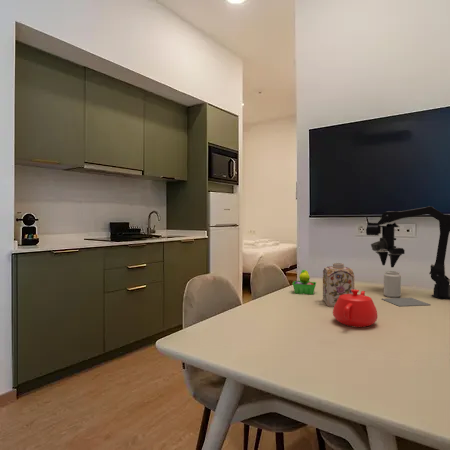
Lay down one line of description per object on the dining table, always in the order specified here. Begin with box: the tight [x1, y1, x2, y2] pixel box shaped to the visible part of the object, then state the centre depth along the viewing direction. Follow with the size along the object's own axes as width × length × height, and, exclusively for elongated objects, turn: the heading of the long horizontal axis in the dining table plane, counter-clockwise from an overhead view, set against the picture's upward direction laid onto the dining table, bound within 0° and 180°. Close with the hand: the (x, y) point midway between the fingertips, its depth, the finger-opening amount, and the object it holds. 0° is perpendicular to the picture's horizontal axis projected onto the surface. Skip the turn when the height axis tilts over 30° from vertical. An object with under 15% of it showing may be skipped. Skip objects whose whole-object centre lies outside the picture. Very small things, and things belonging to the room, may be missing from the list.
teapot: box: [332, 288, 378, 328], centre depth 131 cm, size 25×16×12 cm, turn 145°
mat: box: [381, 297, 432, 307], centre depth 160 cm, size 15×13×1 cm
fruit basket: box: [292, 269, 317, 295], centre depth 180 cm, size 11×9×11 cm
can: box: [383, 270, 402, 298], centre depth 171 cm, size 8×8×12 cm
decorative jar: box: [322, 262, 355, 307], centre depth 158 cm, size 12×12×18 cm
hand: (387, 266), depth 181 cm, fingers open, 7 cm apart
